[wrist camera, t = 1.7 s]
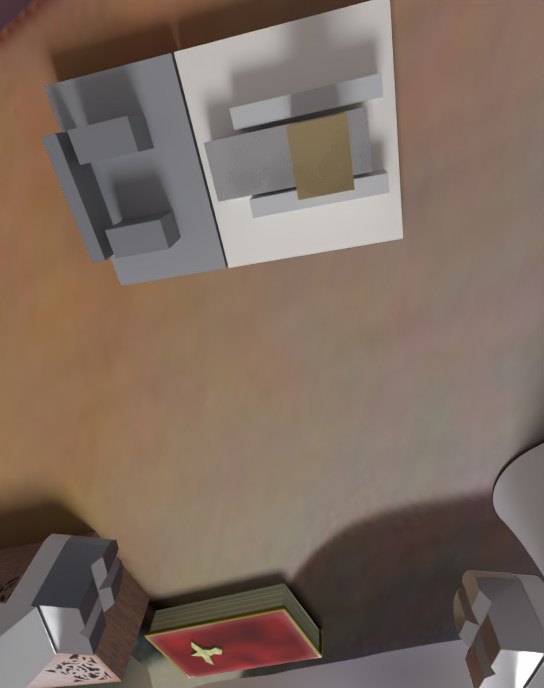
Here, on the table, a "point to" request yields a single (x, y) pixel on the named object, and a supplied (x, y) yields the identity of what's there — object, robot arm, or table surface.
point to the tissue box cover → (117, 639)
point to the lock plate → (219, 122)
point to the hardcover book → (236, 632)
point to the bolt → (293, 157)
